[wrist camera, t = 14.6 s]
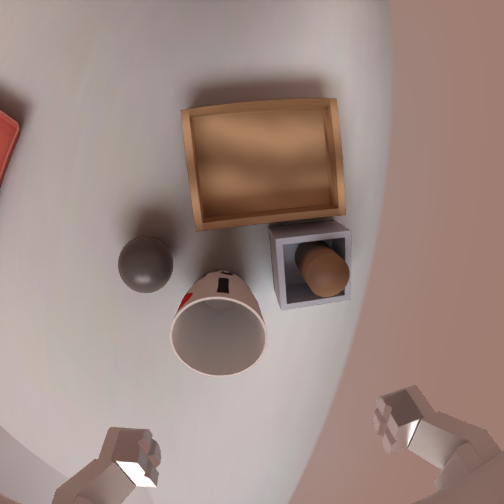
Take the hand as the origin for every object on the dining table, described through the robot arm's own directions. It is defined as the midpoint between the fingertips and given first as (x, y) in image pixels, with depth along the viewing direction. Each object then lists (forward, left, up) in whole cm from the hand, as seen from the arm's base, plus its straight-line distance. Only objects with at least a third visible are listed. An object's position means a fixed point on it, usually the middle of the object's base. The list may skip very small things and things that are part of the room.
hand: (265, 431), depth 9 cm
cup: (+5, -3, -24) cm, 25 cm away
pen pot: (+2, +7, -24) cm, 25 cm away
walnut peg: (+2, +7, -23) cm, 25 cm away
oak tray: (-8, +3, -24) cm, 26 cm away
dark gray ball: (0, -10, -24) cm, 26 cm away
